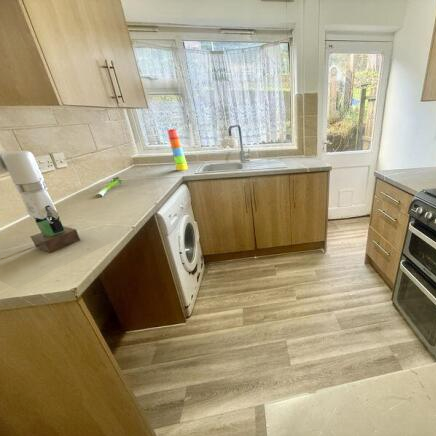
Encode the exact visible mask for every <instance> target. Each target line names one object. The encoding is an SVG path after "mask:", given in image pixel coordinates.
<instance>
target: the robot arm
mask: <svg viewBox="0 0 436 436" xmlns="http://www.w3.org/2000/svg"><path fill="white" fill-rule="evenodd" d="M4 174H9V176H10V178H11V180H12V182H13V184H14V186H15V188H16V190H17V192H18V194H20V196H21V199H22V202H23V204H24V206H25V209H26V212H27V214H28V215H29V217H31V218H33V219H34V221H35V223H36V225H37V227H38V229H39V230H40V228H39V226H38V224H37V223H38V222H41V221H44V220H48V221H49V222H50V224H49V225H50V227H51V229H52V231H53V233H58V232H61V231H63V230H64V228H63V226H64V225H63V223H62V221H61V218H60V216H59V213H58V211H57V208H56V206H55V204H54V202H53V200H52V197H51V196H50V193H49V192H48V190H49V188H48V186H47V183H46V181H45V178H44V176H43V174H42V172H41V169H40V166H39V165H38V163H37V161H36V158H35V155H34V154H33V153H32V152H31V151H28V150H12V151H9V150H8V151H7V150H0V175H4ZM51 218H52V219H51ZM61 223H62V224H61ZM62 225H63V226H62Z"/></svg>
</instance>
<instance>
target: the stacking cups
mask: <svg viewBox="0 0 436 436" xmlns="http://www.w3.org/2000/svg"><path fill="white" fill-rule="evenodd" d="M167 135H168V140H169V143H170V148H171V151H172V156H173V159H174V165H175V168H176V171H185V170H188V164H187V161H186V157H185V153H184V150H183V145H182V143H181V141H180V137H179V134H178V131H177V129H176V128H175V129H174V128H173V129H172V128H171V129H167Z"/></svg>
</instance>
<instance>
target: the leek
mask: <svg viewBox="0 0 436 436" xmlns="http://www.w3.org/2000/svg"><path fill="white" fill-rule="evenodd" d="M112 179H113V180H112V181H111V182H110V183H109V184H108V185H106V186H105V187H103V188H102V189H101V190H99V191H98V192H97V193H96V194H95V197H98V195H99V196H101V198H103V197H104V196H105V194H106V193H107V192H108V191H109V190H110V189H111V188H113V187H114V186H116V185H118V184H121V183H123V181H122V180H121V179H120V176H117V177H113V178H112Z"/></svg>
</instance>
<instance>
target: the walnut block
mask: <svg viewBox="0 0 436 436" xmlns="http://www.w3.org/2000/svg"><path fill="white" fill-rule="evenodd" d="M63 228H64V230H65V231H64V232H61V233H59V234H56V235H53V236H50V237H49V236H46V235H43V234H42V232H39V233H36V234H32V235H30V236H29V237H30V239H31V240H32V243H33V244H34V246H35V248H36V249H38V250H42V251H44V252H47V253H49V254H51V253H53V252H56V251H58V250H61V249H63V248H65V247H69V246H71V245H72V244H75V243H77V242H80V241H81V238H80V236H79V234H78V231H77V229H75V228H72V227H69V226H64V225H63Z"/></svg>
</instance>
